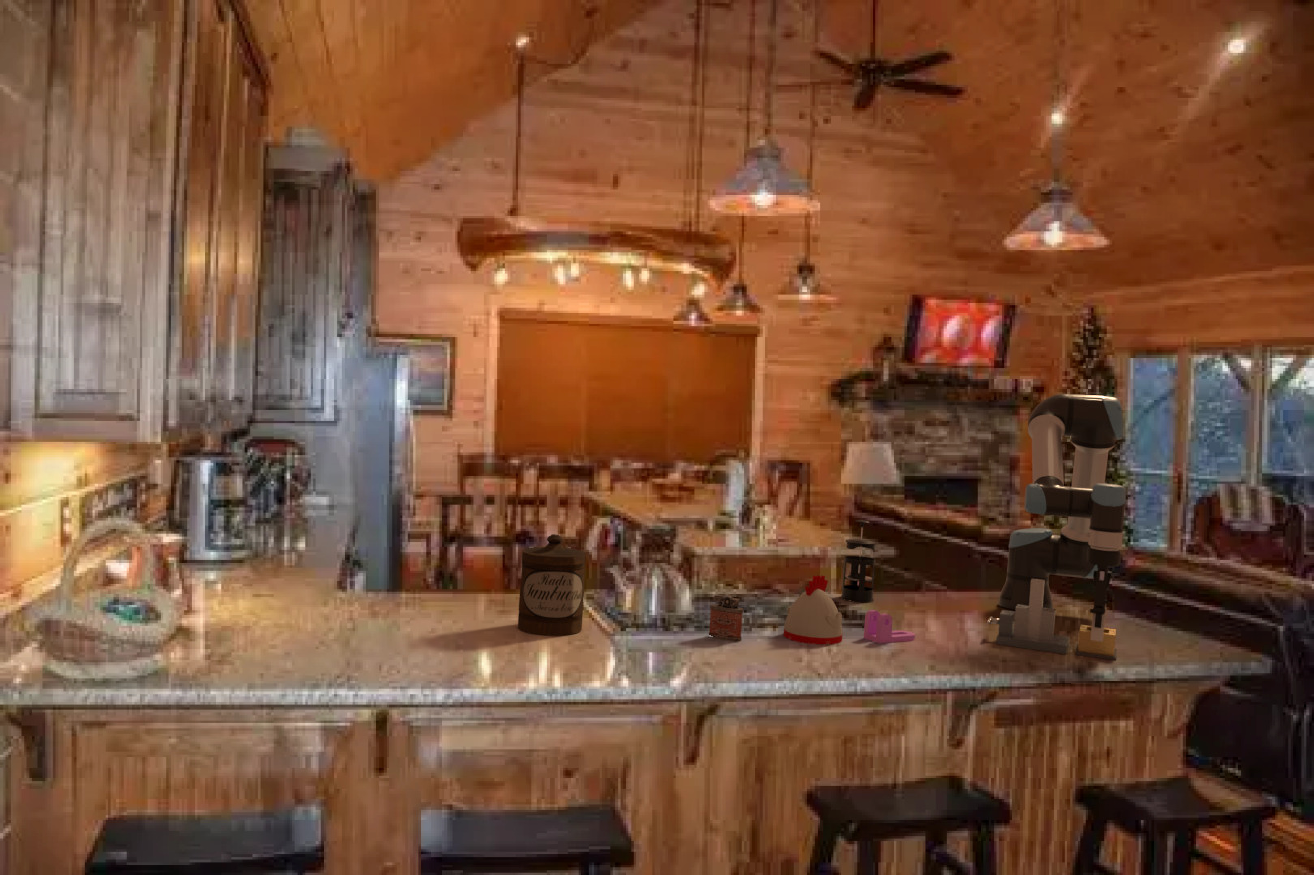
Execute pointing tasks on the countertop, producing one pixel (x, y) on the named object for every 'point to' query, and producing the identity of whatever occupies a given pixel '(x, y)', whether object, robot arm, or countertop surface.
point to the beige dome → (814, 616)
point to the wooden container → (551, 589)
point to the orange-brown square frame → (1096, 646)
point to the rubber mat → (1096, 654)
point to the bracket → (883, 629)
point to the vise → (1030, 624)
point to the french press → (858, 571)
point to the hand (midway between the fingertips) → (1097, 635)
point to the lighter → (726, 619)
